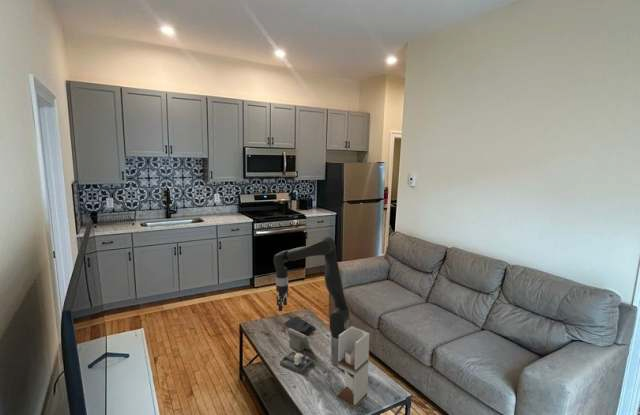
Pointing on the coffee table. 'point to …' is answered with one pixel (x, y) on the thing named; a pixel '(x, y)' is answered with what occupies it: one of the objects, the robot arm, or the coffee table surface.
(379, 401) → the coffee table surface
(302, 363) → the console
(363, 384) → the display case
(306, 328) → the dark slate chunk
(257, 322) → the coffee table surface
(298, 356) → the fader tab
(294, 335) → the digital clock
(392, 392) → the coffee table surface
